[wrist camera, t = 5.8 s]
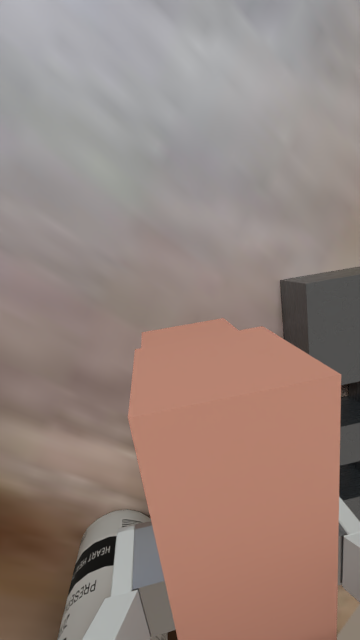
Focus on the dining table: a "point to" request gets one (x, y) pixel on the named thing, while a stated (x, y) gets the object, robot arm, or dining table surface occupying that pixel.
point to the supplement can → (95, 573)
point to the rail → (332, 352)
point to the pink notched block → (240, 480)
